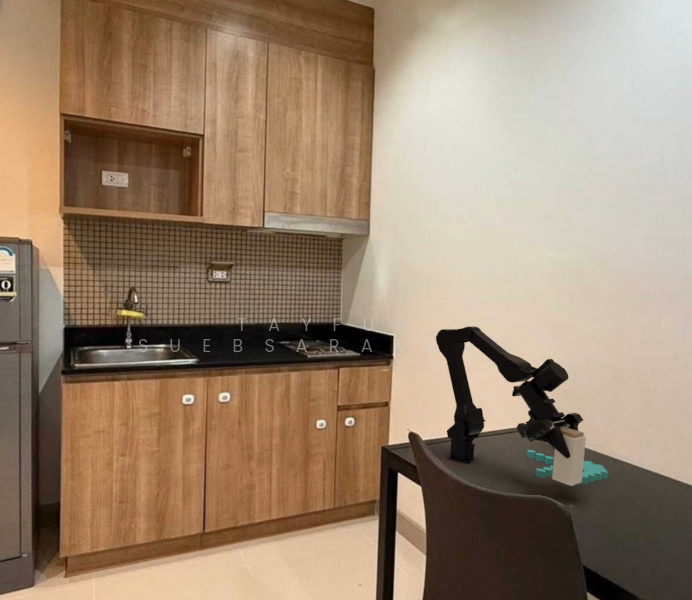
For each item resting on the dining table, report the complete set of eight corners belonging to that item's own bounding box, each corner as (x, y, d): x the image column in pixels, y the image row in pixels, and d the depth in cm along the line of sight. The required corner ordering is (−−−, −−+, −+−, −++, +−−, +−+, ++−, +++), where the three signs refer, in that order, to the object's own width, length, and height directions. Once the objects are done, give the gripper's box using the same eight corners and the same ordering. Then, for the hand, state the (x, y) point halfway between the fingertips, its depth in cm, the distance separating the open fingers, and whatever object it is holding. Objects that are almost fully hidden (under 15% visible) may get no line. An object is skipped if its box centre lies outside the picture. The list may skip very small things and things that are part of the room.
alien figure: (536, 478, 146) (614, 489, 142) (537, 470, 146) (615, 480, 142) (526, 456, 166) (595, 465, 162) (527, 449, 166) (595, 458, 162)
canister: (552, 479, 132) (556, 429, 132) (562, 475, 135) (567, 427, 135) (571, 486, 128) (575, 435, 128) (581, 482, 131) (586, 432, 131)
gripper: (536, 414, 149) (570, 465, 141) (496, 421, 138) (530, 477, 129) (565, 392, 143) (602, 445, 135) (525, 398, 131) (563, 455, 123)
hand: (574, 456), depth 131 cm, fingers closed on canister, 5 cm apart
